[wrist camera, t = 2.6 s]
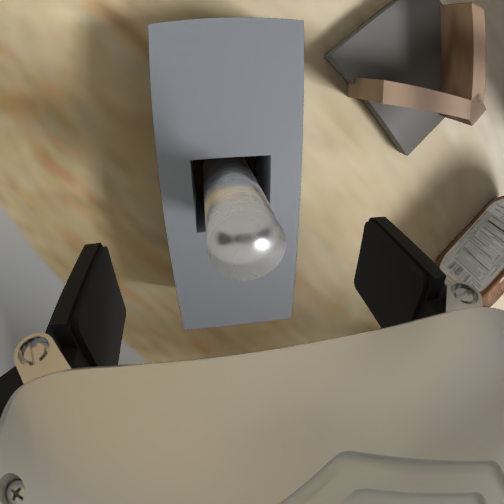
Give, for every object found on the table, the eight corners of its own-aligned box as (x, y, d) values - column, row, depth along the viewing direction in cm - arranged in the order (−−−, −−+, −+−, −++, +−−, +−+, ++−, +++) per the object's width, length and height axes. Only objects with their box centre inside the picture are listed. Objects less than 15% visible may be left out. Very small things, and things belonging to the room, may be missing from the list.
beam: (280, 32, 17) (303, 20, 13) (277, 279, 28) (291, 318, 23) (159, 36, 16) (148, 24, 12) (184, 288, 27) (184, 329, 22)
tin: (426, 284, 32) (468, 333, 25) (417, 270, 30) (462, 321, 23) (507, 197, 28) (556, 231, 21) (501, 179, 26) (555, 212, 19)
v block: (477, 71, 20) (516, 78, 15) (393, 157, 23) (430, 177, 19) (421, -20, 15) (460, -29, 11) (317, 62, 19) (348, 60, 14)
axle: (247, 147, 21) (287, 208, 12) (247, 189, 23) (284, 276, 14) (201, 150, 21) (203, 214, 12) (204, 192, 23) (210, 284, 13)
